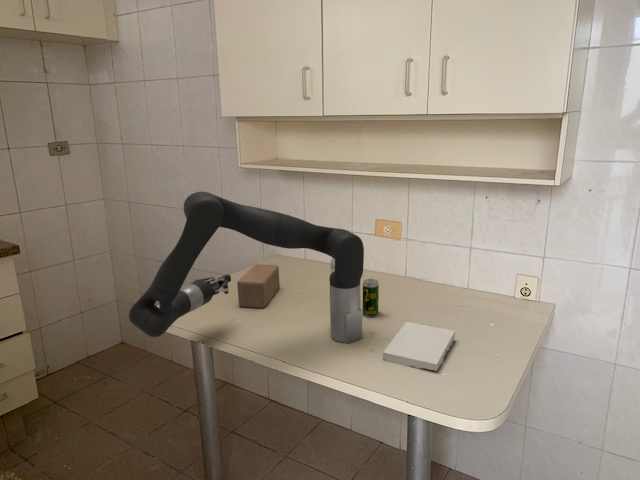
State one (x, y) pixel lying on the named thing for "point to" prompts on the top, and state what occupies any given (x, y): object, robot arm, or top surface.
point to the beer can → (370, 298)
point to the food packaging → (419, 346)
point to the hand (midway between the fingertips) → (228, 277)
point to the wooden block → (258, 286)
